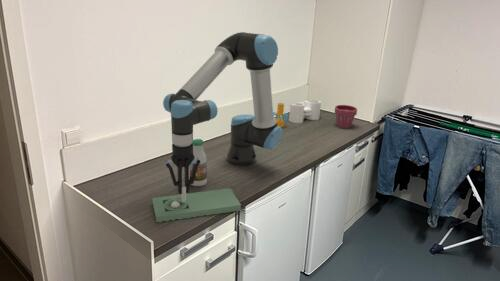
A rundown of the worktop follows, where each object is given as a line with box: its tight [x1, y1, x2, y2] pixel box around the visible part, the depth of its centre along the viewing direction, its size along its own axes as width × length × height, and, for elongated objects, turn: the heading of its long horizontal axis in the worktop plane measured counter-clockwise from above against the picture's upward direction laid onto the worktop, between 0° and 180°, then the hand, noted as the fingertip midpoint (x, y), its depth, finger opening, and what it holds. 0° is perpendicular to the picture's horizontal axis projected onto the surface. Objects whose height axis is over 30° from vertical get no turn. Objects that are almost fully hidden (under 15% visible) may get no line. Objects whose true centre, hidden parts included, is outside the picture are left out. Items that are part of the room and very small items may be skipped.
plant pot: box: [334, 104, 358, 129], centre depth 251 cm, size 14×14×13 cm
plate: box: [151, 187, 242, 223], centre depth 148 cm, size 32×14×2 cm, turn 110°
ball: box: [171, 201, 180, 208], centre depth 145 cm, size 4×4×4 cm
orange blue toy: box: [273, 102, 289, 128], centre depth 245 cm, size 12×10×15 cm
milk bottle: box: [189, 138, 208, 187], centre depth 164 cm, size 8×8×20 cm
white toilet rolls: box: [288, 98, 322, 124], centre depth 262 cm, size 25×10×12 cm, turn 129°
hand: (183, 200), depth 146 cm, fingers closed
